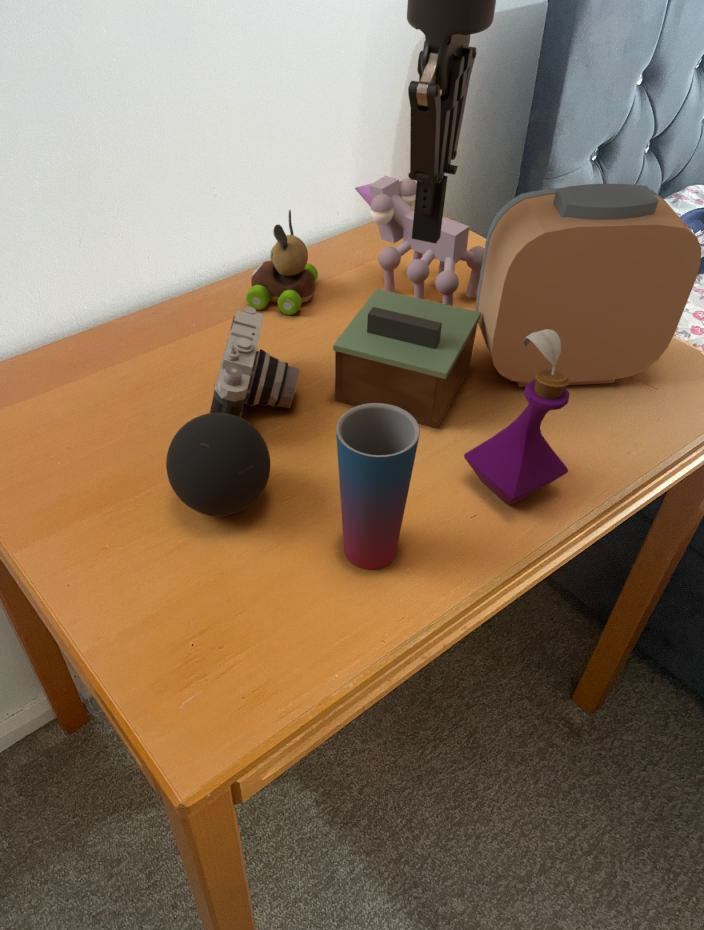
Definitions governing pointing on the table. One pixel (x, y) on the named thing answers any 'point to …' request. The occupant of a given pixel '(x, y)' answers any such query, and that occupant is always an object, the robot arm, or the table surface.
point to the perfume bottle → (525, 434)
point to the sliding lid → (408, 333)
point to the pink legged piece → (396, 223)
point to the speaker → (218, 464)
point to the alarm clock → (585, 281)
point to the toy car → (283, 275)
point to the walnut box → (400, 385)
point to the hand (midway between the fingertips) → (425, 237)
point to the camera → (251, 370)
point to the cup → (374, 479)
